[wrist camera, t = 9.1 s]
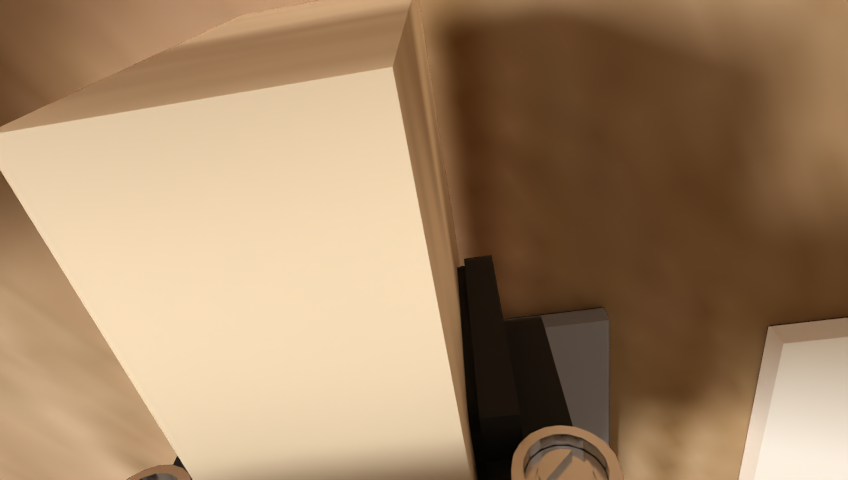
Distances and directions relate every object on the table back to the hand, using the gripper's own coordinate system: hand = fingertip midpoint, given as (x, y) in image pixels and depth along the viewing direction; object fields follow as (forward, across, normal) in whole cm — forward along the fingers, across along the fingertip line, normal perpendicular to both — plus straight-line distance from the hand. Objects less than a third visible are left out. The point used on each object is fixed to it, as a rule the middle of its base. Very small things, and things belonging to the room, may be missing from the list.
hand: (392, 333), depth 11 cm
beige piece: (+1, 0, +2) cm, 3 cm away
